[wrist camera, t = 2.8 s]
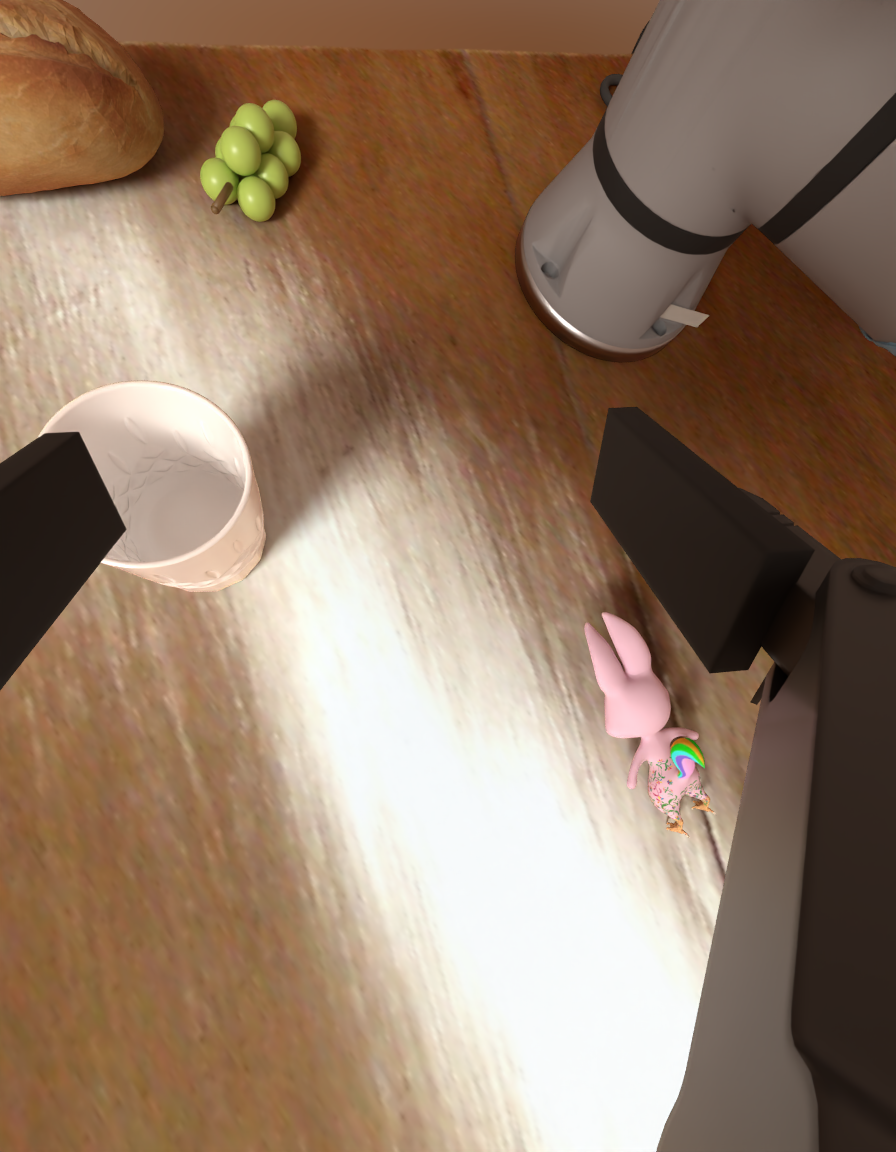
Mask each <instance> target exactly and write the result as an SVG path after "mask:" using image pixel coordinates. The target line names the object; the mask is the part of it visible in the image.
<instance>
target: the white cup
mask: <svg viewBox="0 0 896 1152" xmlns="http://www.w3.org/2000/svg"><path fill="white" fill-rule="evenodd" d="M59 432H79V433H80V435H81V437H82V439H83V441H84V443H85V445H86V447H87V449H88V451H89V453H90V455H91V457H92V459H93V461H94V463H95V466H96V468H97V470H98V472H99V474H100V476H101V478H102V480H103V482H104V484H105V486H106V488H107V490H108V492H109V494H110V496H111V498H112V500H113V502H114V504H115V506H116V508H117V511H118V513H119V515H120V517H121V519H122V521H123V523H124V525H125V527H126V529H127V530H126V531H125V532H124V533H123V535H122V536H121V537H120V539H119V540H118V541H117V542H116V544H115V545H114V546H113V547H112V549H111V550H110V551H109V553H108V554H107V555H106V556H105V558H104V559H103V560H102V561H101V563H103V564H106V565H109V566H112V567H114V568H117V569H120V570H122V571H125V572H128V573H131V574H133V575H136V576H139V577H141V578H144V579H147V580H150V581H153V582H156V583H160V584H163V585H166V586H171V587H177V588H181V589H183V590H185V591H188V592H208V591H220V590H222V589H224V588H226V587H228V586H231V585H233V584H235V583H237V582H240V581H242V580H243V579H244V578H245V577H246V576H247V575H248V574H249V573H250V571H251V570H252V569H253V568H254V567H255V566H256V565H257V563H258V562H259V561H260V559H261V555H262V552H263V548H264V544H265V540H266V532H265V528H264V515H263V509H262V503H261V498H260V492H259V488H258V485H257V482H256V478H255V474H254V469H253V466H252V462H251V457H250V453H249V450H248V447H247V444H246V442H245V440H244V438H243V436H242V434H241V432H240V430H239V429H238V427H237V426H236V425H235V423H234V422H233V421H232V420H231V418H230V417H229V416H228V415H227V414H226V413H225V412H224V411H223V410H222V409H220V408H219V407H218V406H217V405H215V404H214V403H213V402H211V401H210V400H208V399H207V398H205V397H203V396H201V395H200V394H198V393H196V392H193V391H191V390H189V389H186V388H183V387H180V386H177V385H173V384H169V383H164V382H157V381H125V382H118V383H113V384H109V385H105V386H102V387H99V388H96V389H93V390H91V391H88V392H86V393H84V394H82V395H80V396H79V397H77V398H75V399H74V400H72V401H70V402H69V403H68V404H66V405H65V406H64V407H62V408H61V409H60V410H59V411H58V412H57V413H56V414H55V415H54V416H53V417H52V418H51V419H50V420H49V421H48V423H47V424H46V425H45V427H44V428H43V430H42V431H41V433H40V434H39V436H38V438H39V437H40V436H42V435H43V434H44V433H59Z"/></svg>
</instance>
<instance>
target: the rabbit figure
mask: <svg viewBox="0 0 896 1152" xmlns="http://www.w3.org/2000/svg"><path fill="white" fill-rule="evenodd" d="M602 617H603V619H604V621H605V623H606V626H607V629H608V631H609V634H610V636H611V638H612V641H613V643H614V645H615V648H616V650H617V653H618V655H619V657H620V660H621V662H622V664H623V666H624V670H625V672H624V671H623V668H622V666H621V664H620V662H619V661H618V659H617V657H616V656H615V654H614V652H613V650H612V649H611V647H610V645H609V644H608V643H607V641H606V640H605V639H604V638H603V637H602V636H601V635H600V634H599V633H598V632H597V631H596V630H595V629H594V627H593V626H592V625H591V624H590V623H588V622H587V623H586V624H585V634H586V638H587V642H588V646H589V650H590V654H591V658H592V662H593V665H594V670H595V675H596V678H597V682H598V685H599V687H600V688H601V690H602V691H603V692H604V693H605V698H604V704H605V728H606V732H607V733H608V734H609V735H611V736H614V737H618V738H634V737H641V742H640V745H639V747H638V749H637V751H636V753H635V755H634V758H633V761H632V763H631V767H630V771H629V775H628V780H627V786H628V788H630V789H634V788H635V787H636V784H637V773H638V770H639V768H640V766H641V764H642V763H643V762H644V761H645V760H646V761H647V762H648V763H649V778H648V794H649V797H650V799H651V801H652V802H653V804H654V805H655V806H656V807H657V808H658V809H659V810H660V811H662V812H663V813H665V814H666V815H668V816H669V817H671V818H672V819H674V820H675V823H674V824H673V823H669V822H668V823H666V825H668V824H670V826H671V827H670V828H669V827H667V831H668V829H670V830H671V831H675V832H679V833H681V834H683V833H685V834H686V835H687V836H688V837H689V835H688V834H687V833H686V832H685V831H684V830H682V825H683V820H682V818H681V817H680V800H681V798H682V797H683V796H684V795H687V796H691V797H695V798H698V799H700V802H698V801H697V802H696V801H693V802H694V803H695V804H696V805H695V806H693V807H692V809H694V808H697V809H701V810H705V811H707V812H708V811H711V812H712V813H714V811H712V810H711V809H710V808H708V805H709V802H710V798H709V797H708V795H707V794H706V793H705V791H704V790H703V787H702V784H701V782H700V774H699V771H698V769H697V768H696V766H695V762H697V763H698V764H700V765H701V766H702V767H703V768H704V769H705V761H704V757H703V754H702V751H701V749H700V748H699V746H698V745H697V744H696V743H695V742H694V741H693V740H696V739H698V737H699V735H698V733H697V732H695V731H693V730H689V729H685V728H665V729H662V728H663V727H664V726H665V724H666V723H667V721H668V719H669V716H670V711H671V705H670V700H669V693H668V691H667V690H666V688H665V687H664V686H663V684H662V683H661V681H660V680H659V679H658V678H657V677H656V675H655V674H654V673H653V671H652V669H651V655H650V651H649V649H648V646H647V644H646V643H645V641H644V639H643V638H642V636H641V635H640V633H639V632H638V631H637V630H636V629H635V628H634V627H633V626H632V625H630V624H629V623H628V622H626V621H624V620H623V619H621V618H619V617H617V616H615V615H613V614H611V613H608V612H603V613H602ZM680 736H685V737H688V738H679V739H677V740H676V741H675V742H674V743H673V744H672V746H671V748H670V743H671V740H672V739H674V738H676V737H680ZM714 814H715V813H714ZM715 815H716V814H715ZM689 838H690V837H689Z"/></svg>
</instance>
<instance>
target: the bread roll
mask: <svg viewBox="0 0 896 1152" xmlns="http://www.w3.org/2000/svg"><path fill="white" fill-rule="evenodd" d="M163 135H164V118H163V113H162V108H161V105H160V103H159V100H158V98H157V96H156V94H155V92H154V91H153V89H152V87H151V86H150V84H149V83H148V81H147V80H146V78H145V77H144V75H143V73H142V72H141V70H140V69H139V67H138V66H137V65H136V63H135V62H134V61H133V60H132V59H131V57H130V56H129V54H128V53H127V52H126V50H125V49H124V48H123V47H122V46H121V45H120V44H119V43H118V42H117V41H116V40H114V39H113V38H112V37H111V36H110V35H109V34H108V33H107V32H106V31H104V30H103V29H102V28H101V27H100V26H99V25H98V24H96V23H95V22H93V21H92V20H91V19H90V18H88V17H87V16H86V15H85V14H83V13H82V12H81V10H80V9H78V8H76V7H74V6H72V5H71V4H69V3H67V2H65V1H63V0H0V196H6V195H13V194H21V193H32V192H37V191H43V190H54V189H58V188H62V187H70V186H76V185H84V184H95V183H99V182H104V181H109V180H113V179H118V178H122V177H125V176H127V175H129V174H131V173H133V172H135V171H137V170H138V169H140V168H142V167H143V166H144V165H145V164H146V163H147V162H148V161H149V160H150V159H151V158H152V157H153V156H154V155H155V153H156V151H157V149H158V147H159V145H160V144H161V142H162V138H163Z"/></svg>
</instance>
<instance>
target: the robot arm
mask: <svg viewBox="0 0 896 1152" xmlns="http://www.w3.org/2000/svg"><path fill="white" fill-rule="evenodd" d="M631 54H633V56H632V58H631V60H630V62H629V64H628V66H627V68H626V70H625V72H624V74H623V75H620V74H612V75H609V76H606V78H605V79H604V80H603V82H602V83H601V87H600V94H601V97H602V99H603V101H604V103H605V104H606V105H607V109H606V111H605V113H604V115H603V117H602V119H601V121H600V123H599V125H598V127H597V129H596V131H595V133H594V135H593V136H592V138H591V139H590V140H589V142H588V143H587V144H586V145H585V146H584V147H583V148H582V149H581V150H580V151H579V152H578V154H577V155H576V156H575V157H574V158H573V159H572V160H571V161H570V162H569V163H568V164H567V166H566V167H565V168H564V169H563V170H562V171H561V172H560V173H559V174H558V175H557V176H556V178H555V179H554V180H553V181H552V182H551V183H550V184H549V185H548V186H547V187H546V188H545V190H544V191H543V192H542V193H541V194H540V195H539V197H538V198H537V199H536V201H535V202H534V203H533V205H532V206H531V208H530V210H529V212H528V214H527V216H526V219H525V221H524V223H523V226H522V228H521V230H520V232H519V235H518V238H517V242H516V248H515V265H516V272H517V276H518V280H519V283H520V286H521V289H522V291H523V294H524V296H525V298H526V300H527V302H528V303H529V305H530V307H531V308H532V310H533V311H534V313H535V314H536V316H537V317H538V318H539V319H540V321H541V322H542V323H543V324H544V325H545V326H546V327H547V328H548V329H549V330H550V331H551V332H552V333H553V334H554V335H555V336H557V337H558V338H559V339H560V340H562V341H563V342H565V343H566V344H568V345H569V346H571V347H572V348H574V349H576V350H578V351H580V352H582V353H584V354H586V355H589V356H591V357H594V358H597V359H601V360H605V361H612V362H632V361H638V360H642V359H645V358H648V357H650V356H652V355H654V354H656V353H657V352H659V351H660V350H662V349H663V348H664V347H665V346H666V345H667V344H668V343H669V342H670V341H671V340H672V339H673V338H674V337H675V336H676V335H678V334H679V333H680V332H681V331H682V329H683V328H684V327H685V326H686V325H690V326H694V327H698V326H699V325H700V324H701V323H702V322H703V321H704V320H705V319H706V318H707V317H708V316H709V315H706V314H703V313H699V312H696V311H695V309H696V307H697V305H698V303H699V301H700V299H701V297H702V295H703V294H704V292H705V290H706V288H707V286H708V284H709V282H710V280H711V279H712V277H713V275H714V273H715V271H716V269H717V267H718V265H719V263H720V262H721V260H722V258H723V256H724V254H725V252H726V250H727V249H728V248H729V247H730V246H731V245H732V244H733V242H734V241H735V240H736V239H737V238H738V237H739V236H740V235H741V234H742V233H743V232H744V231H745V230H746V229H747V227H748V226H749V225H751V224H753V225H754V226H755V227H756V228H758V229H759V230H760V231H761V232H762V233H763V234H764V235H765V236H766V237H767V238H768V239H769V240H770V241H771V242H772V243H773V244H774V245H775V246H776V247H777V248H778V249H779V250H780V251H781V252H783V253H784V254H785V255H786V256H787V257H788V258H789V259H790V260H791V261H792V262H793V263H794V264H795V265H796V266H797V267H798V268H799V269H800V270H801V271H802V272H803V273H804V274H806V275H807V276H808V277H809V278H810V279H811V280H812V281H813V282H814V283H815V284H816V285H817V286H818V287H819V288H820V289H821V290H822V291H823V292H824V293H825V294H826V295H827V296H829V297H830V298H831V299H832V300H833V301H834V302H835V303H836V304H837V305H838V306H839V307H840V308H841V309H842V310H843V311H844V312H845V313H846V314H847V315H848V316H849V317H850V318H852V319H853V320H854V321H855V322H856V323H857V324H858V325H859V328H860V330H861V332H862V334H863V335H864V336H865V337H866V338H867V339H868V340H869V341H873V342H874V343H875V345H877V346H880V347H882V348H885V349H887V350H888V351H889V352H891V353H892V354H893V355H894V356H895V357H896V0H660V1H659V3H658V5H657V7H656V9H655V11H654V13H653V15H652V17H651V20H650V21H649V22H648V23H647V24H646V26H645V27H644V29H643V30H642V32H641V34H640V36H639V38H638V40H637V42H636V44H635V47H634V49H633V51H632V53H631ZM611 85H617V88H616V90H615V92H614V95H613V96H612V95H611V93H610V91H609V88H608V87H609V86H611ZM590 502H591V503H592V505H593V506H594V507H595V509H596V510H597V512H598V513H599V515H600V516H601V518H602V519H603V520H604V522H605V523H606V525H607V526H608V528H609V529H610V530H611V532H612V533H613V535H614V536H615V538H616V539H617V541H618V542H619V543H620V545H621V546H622V548H623V549H624V551H625V552H626V554H627V555H628V556H629V558H630V559H631V561H632V562H633V564H634V565H635V566H636V568H637V569H638V571H639V572H640V574H641V575H642V577H643V578H644V579H645V581H646V582H647V584H648V585H649V587H650V588H651V589H652V591H653V592H654V594H655V595H656V597H657V598H658V600H659V601H660V602H661V604H662V605H663V607H664V608H665V610H666V611H667V613H668V614H669V615H670V617H671V618H672V620H673V621H674V623H675V624H676V625H677V627H678V628H679V630H680V631H681V633H682V634H683V636H684V637H685V638H686V640H687V641H688V643H689V644H690V646H691V647H692V648H693V650H694V651H695V653H696V654H697V656H698V657H699V659H700V660H701V661H702V663H703V664H704V666H705V667H706V669H707V670H708V672H709V673H719V672H730V671H741V670H748V669H749V668H750V666H751V664H752V662H753V660H754V659H755V657H756V655H757V653H758V651H759V650H760V648H761V646H762V647H763V649H764V650H765V651H766V652H767V653H768V654H769V656H770V657H771V658H772V659H773V660H774V661H775V662H774V664H773V665H772V667H771V669H770V670H769V672H768V674H767V675H766V677H765V679H764V680H763V682H762V684H761V685H760V687H759V689H758V690H757V692H756V694H755V695H754V697H753V699H752V700H751V703H754V704H756V705H757V704H758V703H759V701H760V700H761V704H760V709H759V714H758V719H757V723H756V728H755V733H754V738H753V743H752V748H751V753H750V758H749V763H748V768H747V773H746V777H745V782H744V787H743V792H742V797H741V802H740V807H739V812H738V817H737V822H736V827H735V831H734V836H733V841H732V846H731V851H730V856H729V861H728V866H727V871H726V876H725V881H724V885H723V890H722V895H721V900H720V905H719V910H718V915H717V920H716V925H715V930H714V935H713V940H712V944H711V949H710V954H709V959H708V964H707V969H706V974H705V979H704V984H703V989H702V994H701V998H700V1003H699V1008H698V1013H697V1018H696V1023H695V1028H694V1033H693V1038H692V1043H691V1048H690V1052H689V1057H688V1062H687V1067H686V1071H685V1076H684V1080H683V1084H682V1087H681V1090H680V1093H679V1096H678V1098H677V1100H676V1102H675V1104H674V1107H673V1109H672V1111H671V1113H670V1115H669V1117H668V1119H667V1121H666V1123H665V1126H664V1129H663V1132H662V1135H661V1138H660V1141H659V1144H658V1147H657V1151H656V1152H896V567H893V566H890V565H887V564H884V563H881V562H877V561H872V560H867V559H861V558H845V559H842V560H841V559H840V558H839V557H837V556H836V555H835V554H833V553H832V552H831V551H830V550H828V549H827V548H826V547H824V546H823V545H822V544H821V543H819V542H818V541H817V540H815V539H814V538H813V537H812V536H810V535H809V534H808V533H806V532H805V531H804V530H803V529H801V528H800V527H799V526H794V522H792V521H791V520H790V519H788V518H787V517H786V516H785V515H780V512H779V511H778V510H777V509H776V508H774V507H773V506H772V505H770V504H769V503H768V502H767V501H765V500H764V499H763V498H760V497H758V496H756V495H754V494H752V493H750V492H747V491H745V490H743V489H741V488H737V487H736V486H735V485H734V484H732V483H731V482H730V481H729V480H727V479H726V478H725V477H724V476H722V475H721V474H720V473H719V472H717V471H716V470H715V469H714V468H712V467H711V466H710V465H709V464H707V463H706V462H705V461H704V460H702V459H701V458H700V457H699V456H697V455H696V454H695V453H694V452H692V451H691V450H690V449H689V448H687V447H686V446H685V445H684V444H682V443H681V442H680V441H679V440H678V439H676V438H675V437H674V436H673V435H671V434H670V433H669V432H668V431H666V430H665V429H664V428H663V427H661V426H660V425H659V424H658V423H656V422H655V421H654V420H653V419H651V418H650V417H649V416H648V415H646V414H645V413H644V412H643V411H641V410H640V409H639V408H638V407H624V408H609V409H608V414H607V419H606V424H605V430H604V435H603V440H602V445H601V450H600V455H599V460H598V465H597V470H596V475H595V480H594V485H593V491H592V496H591V501H590ZM126 530H127V529H126V527H125V525H124V523H123V521H122V519H121V517H120V515H119V513H118V511H117V508H116V506H115V504H114V502H113V500H112V498H111V496H110V494H109V492H108V490H107V488H106V486H105V484H104V482H103V480H102V478H101V476H100V474H99V472H98V470H97V468H96V466H95V463H94V461H93V459H92V457H91V455H90V453H89V451H88V449H87V447H86V445H85V443H84V441H83V439H82V437H81V435H80V433H79V432H59V433H44V434H43V435H42V436H40V437H39V438H37V439H36V440H34V441H33V442H31V443H30V444H28V445H27V446H25V447H24V448H22V449H21V450H19V451H18V452H17V453H15V454H14V455H12V456H11V457H9V458H8V459H6V460H5V461H3V462H2V463H0V690H1V689H2V687H3V686H4V685H5V684H6V682H7V681H8V680H9V679H10V677H11V676H12V675H13V673H14V672H15V671H16V670H17V668H18V667H19V666H20V665H21V663H22V662H23V661H24V659H25V658H26V657H27V656H28V654H29V653H30V652H31V651H32V649H33V648H34V647H35V645H36V644H37V643H38V642H39V640H40V639H41V638H42V637H43V635H44V634H45V633H46V631H47V630H48V629H49V628H50V626H51V625H52V624H53V623H54V621H55V620H56V619H57V617H58V616H59V615H60V614H61V612H62V611H63V610H64V609H65V607H66V606H67V605H68V603H69V602H70V601H71V600H72V598H73V597H74V596H75V595H76V593H77V592H78V591H79V589H80V588H81V587H82V586H83V584H84V583H85V582H86V581H87V579H88V578H89V577H90V575H91V574H92V573H93V572H94V570H95V569H96V568H97V567H98V565H99V564H100V563H101V561H102V560H103V559H104V558H105V556H106V555H107V554H108V553H109V551H110V550H111V549H112V547H113V546H114V545H115V544H116V542H117V541H118V540H119V539H120V537H121V536H122V535H123V533H124V532H125V531H126ZM761 698H762V699H761Z"/></svg>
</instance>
